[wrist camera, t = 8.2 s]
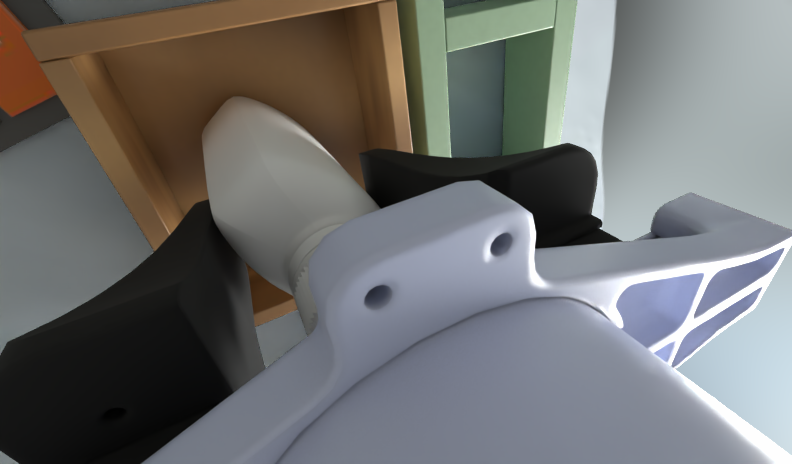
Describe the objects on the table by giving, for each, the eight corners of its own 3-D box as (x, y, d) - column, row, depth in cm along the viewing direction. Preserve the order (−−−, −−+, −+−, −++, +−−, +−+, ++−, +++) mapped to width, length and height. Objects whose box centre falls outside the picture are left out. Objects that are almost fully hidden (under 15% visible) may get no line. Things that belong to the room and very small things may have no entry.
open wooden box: (390, 220, 21) (425, 257, 18) (207, 288, 18) (211, 345, 15) (351, -21, 15) (393, -28, 12) (61, 24, 12) (17, 31, 9)
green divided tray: (516, 174, 24) (554, 194, 21) (407, 214, 22) (435, 242, 19) (542, -290, 14) (621, -356, 11) (337, -306, 11) (380, -394, 9)
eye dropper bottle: (253, 230, 17) (332, 503, 8) (186, 109, 14) (182, 329, 4) (342, 192, 18) (507, 392, 9) (299, 70, 15) (490, 183, 5)
